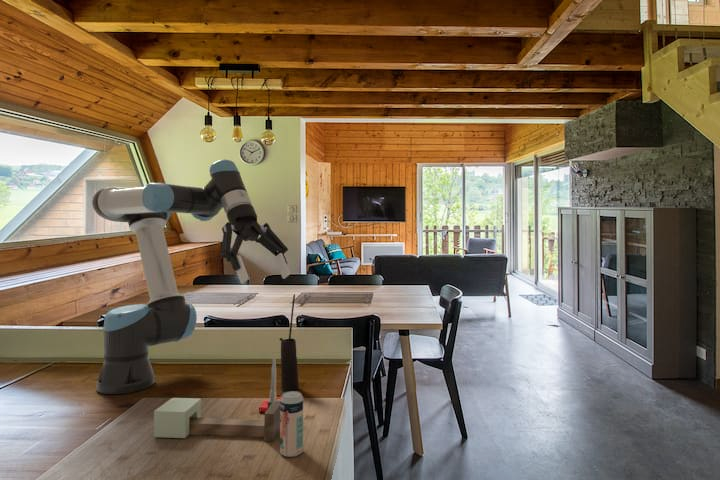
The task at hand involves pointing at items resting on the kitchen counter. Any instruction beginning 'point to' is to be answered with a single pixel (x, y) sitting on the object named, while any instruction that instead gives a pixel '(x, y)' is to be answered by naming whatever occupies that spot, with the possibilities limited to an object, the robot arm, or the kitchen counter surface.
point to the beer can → (291, 424)
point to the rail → (240, 425)
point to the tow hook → (273, 389)
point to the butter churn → (289, 361)
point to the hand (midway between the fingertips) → (266, 278)
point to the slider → (176, 417)
